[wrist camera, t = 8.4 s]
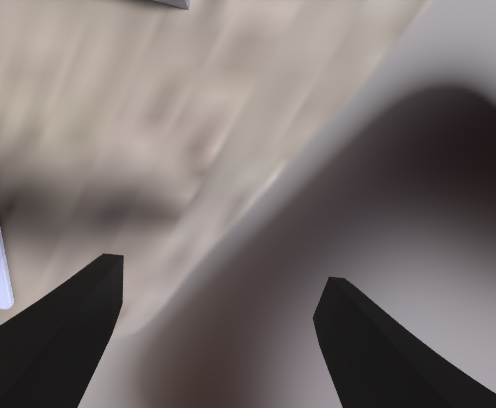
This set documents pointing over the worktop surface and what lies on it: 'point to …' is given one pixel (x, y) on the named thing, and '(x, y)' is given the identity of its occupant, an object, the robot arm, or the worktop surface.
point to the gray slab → (176, 3)
